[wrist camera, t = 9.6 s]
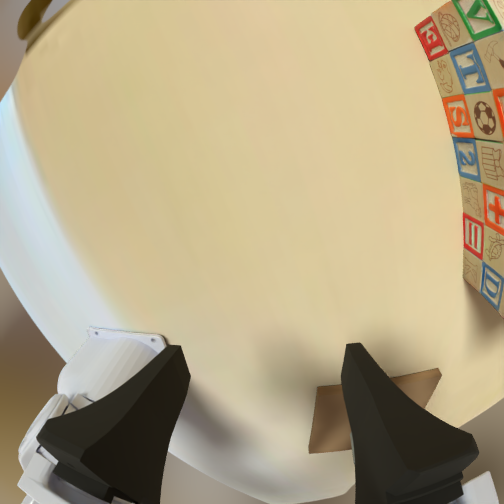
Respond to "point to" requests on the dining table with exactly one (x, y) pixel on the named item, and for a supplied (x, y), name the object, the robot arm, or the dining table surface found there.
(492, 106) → the stack of blocks
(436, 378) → the walnut board
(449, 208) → the dining table surface
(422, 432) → the robot arm
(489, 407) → the dining table surface
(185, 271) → the dining table surface
